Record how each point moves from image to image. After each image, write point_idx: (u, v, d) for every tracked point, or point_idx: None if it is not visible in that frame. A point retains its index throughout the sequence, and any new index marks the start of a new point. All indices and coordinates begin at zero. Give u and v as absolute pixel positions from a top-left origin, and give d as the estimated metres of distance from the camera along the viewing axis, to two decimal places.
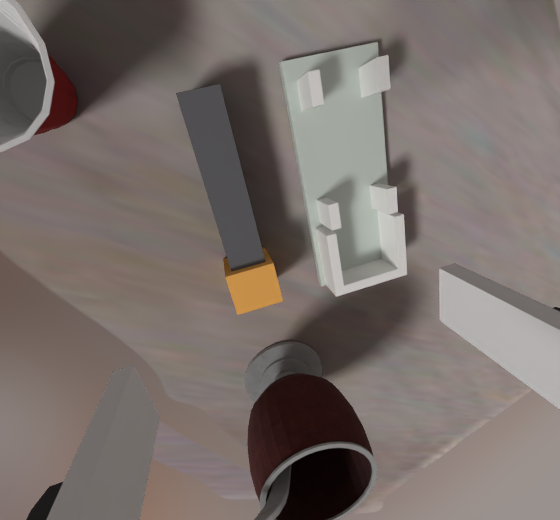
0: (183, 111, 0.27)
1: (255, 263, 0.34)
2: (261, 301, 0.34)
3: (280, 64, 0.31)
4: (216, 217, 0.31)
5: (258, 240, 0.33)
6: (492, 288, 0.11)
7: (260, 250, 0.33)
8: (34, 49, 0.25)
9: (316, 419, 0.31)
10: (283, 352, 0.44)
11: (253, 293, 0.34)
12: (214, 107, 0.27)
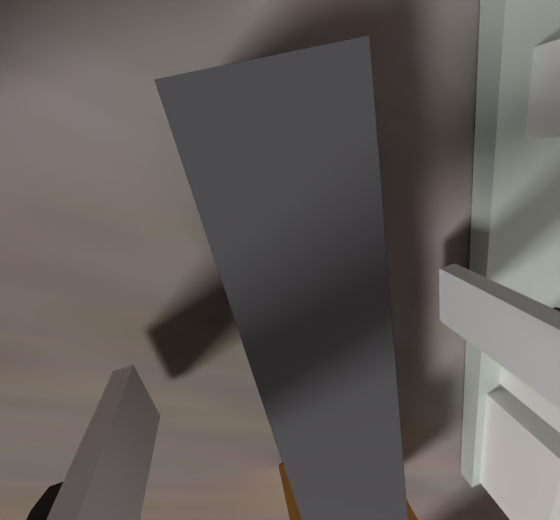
0: (192, 168, 0.06)
1: None
2: None
3: None
4: (295, 484, 0.10)
5: (402, 505, 0.11)
6: (492, 288, 0.11)
7: None
8: None
9: None
10: None
11: None
12: (329, 146, 0.06)
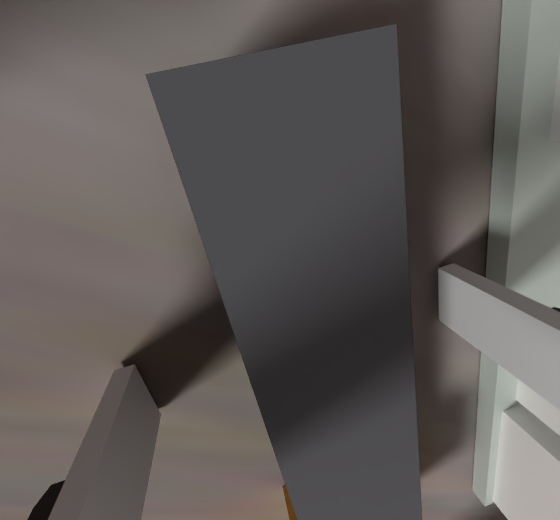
0: (190, 177, 0.05)
1: None
2: None
3: None
4: None
5: None
6: (491, 288, 0.11)
7: None
8: None
9: None
10: None
11: None
12: (347, 153, 0.05)
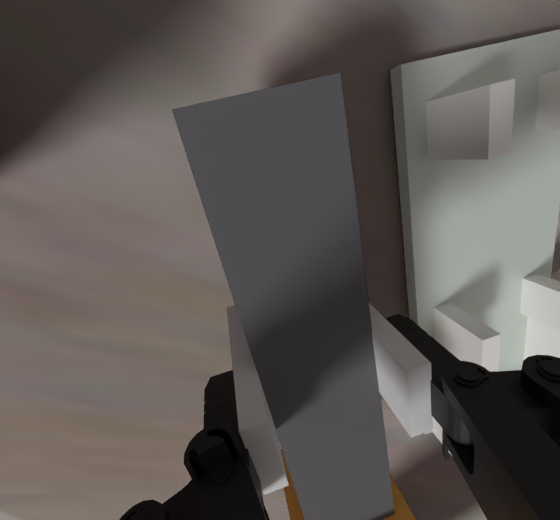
0: (200, 177, 0.07)
1: None
2: None
3: (398, 70, 0.15)
4: (288, 454, 0.11)
5: (386, 479, 0.13)
6: None
7: (387, 496, 0.13)
8: None
9: None
10: None
11: None
12: (310, 159, 0.08)
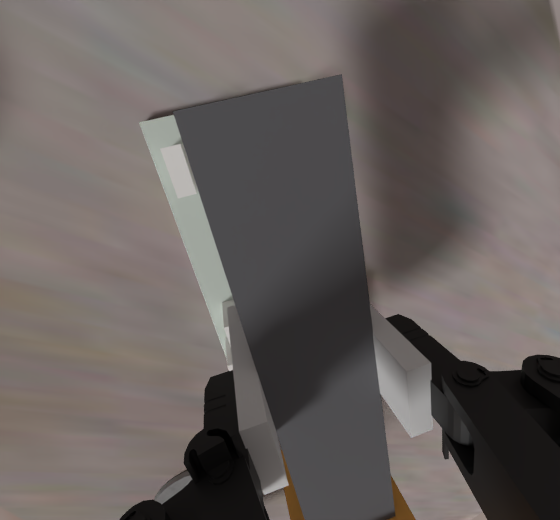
0: (201, 179, 0.07)
1: None
2: None
3: (141, 126, 0.20)
4: (289, 456, 0.11)
5: (387, 481, 0.13)
6: None
7: (388, 498, 0.13)
8: None
9: None
10: None
11: None
12: (311, 161, 0.07)
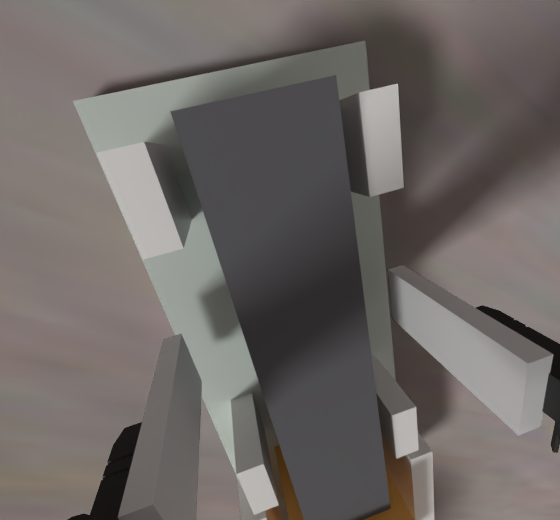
0: (198, 178, 0.07)
1: (367, 516, 0.14)
2: None
3: (79, 109, 0.11)
4: (285, 449, 0.11)
5: (382, 474, 0.13)
6: (427, 288, 0.11)
7: (383, 491, 0.13)
8: None
9: None
10: None
11: None
12: (307, 161, 0.08)
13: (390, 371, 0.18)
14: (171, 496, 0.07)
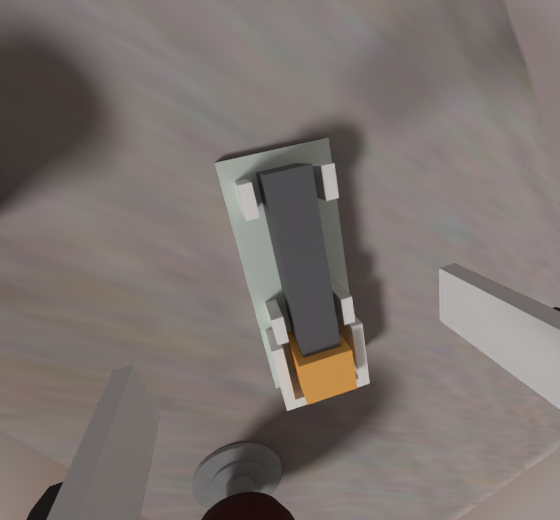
0: (269, 194, 0.24)
1: (329, 348, 0.30)
2: (334, 390, 0.30)
3: (215, 165, 0.27)
4: (293, 302, 0.27)
5: (335, 324, 0.29)
6: (492, 288, 0.11)
7: (336, 334, 0.29)
8: None
9: None
10: (235, 456, 0.39)
11: (326, 382, 0.30)
12: (303, 189, 0.24)
13: None
14: None
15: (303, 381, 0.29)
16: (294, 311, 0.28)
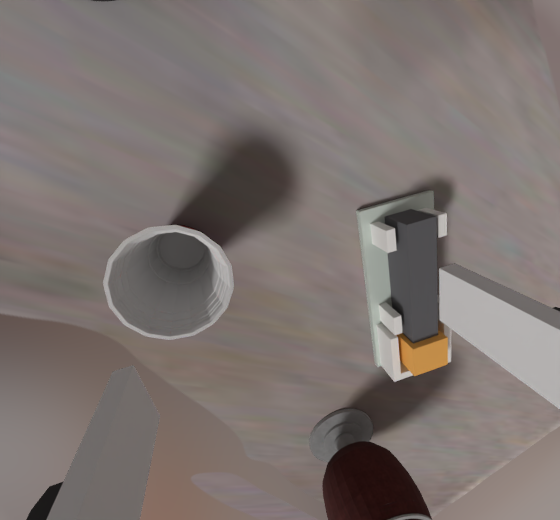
0: (408, 236, 0.36)
1: (430, 336, 0.43)
2: (433, 365, 0.43)
3: (358, 213, 0.39)
4: (412, 306, 0.40)
5: (436, 320, 0.42)
6: (492, 288, 0.11)
7: (436, 327, 0.42)
8: None
9: (389, 493, 0.39)
10: (343, 418, 0.52)
11: (428, 360, 0.43)
12: (428, 232, 0.36)
13: None
14: None
15: (414, 359, 0.42)
16: (412, 311, 0.40)
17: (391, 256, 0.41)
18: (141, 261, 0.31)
